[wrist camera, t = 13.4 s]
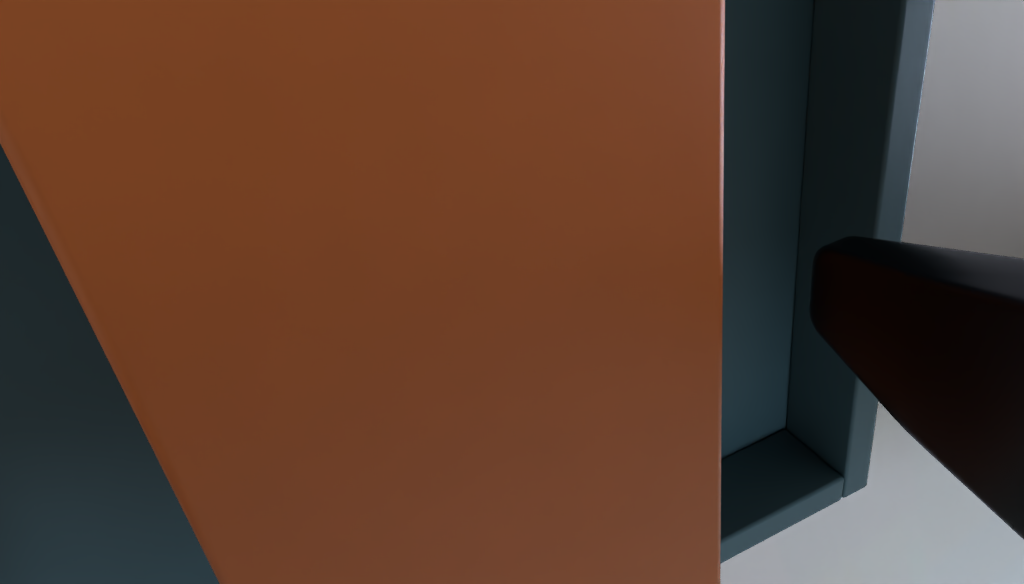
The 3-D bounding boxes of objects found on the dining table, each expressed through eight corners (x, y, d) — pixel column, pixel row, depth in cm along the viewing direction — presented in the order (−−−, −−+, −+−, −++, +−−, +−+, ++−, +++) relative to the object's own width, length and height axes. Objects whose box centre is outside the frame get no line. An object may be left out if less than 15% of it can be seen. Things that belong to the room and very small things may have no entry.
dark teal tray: (845, -492, 10) (1017, -559, 8) (786, 420, 17) (867, 486, 16) (-1066, -359, 5) (-1630, -447, 3) (2, 799, 13) (-6, 952, 11)
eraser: (422, -198, 9) (733, -212, 5) (534, 486, 14) (722, 745, 10) (-20, -123, 7) (-104, -54, 3) (291, 598, 13) (397, 944, 9)
